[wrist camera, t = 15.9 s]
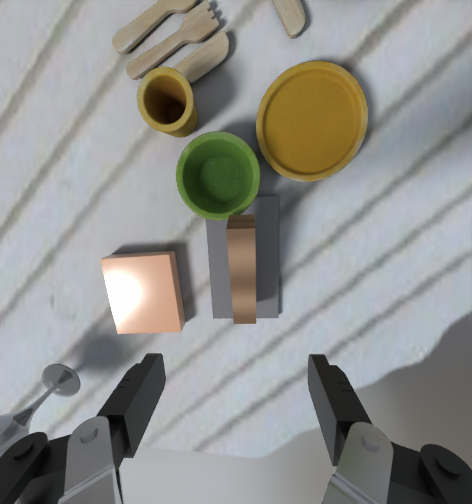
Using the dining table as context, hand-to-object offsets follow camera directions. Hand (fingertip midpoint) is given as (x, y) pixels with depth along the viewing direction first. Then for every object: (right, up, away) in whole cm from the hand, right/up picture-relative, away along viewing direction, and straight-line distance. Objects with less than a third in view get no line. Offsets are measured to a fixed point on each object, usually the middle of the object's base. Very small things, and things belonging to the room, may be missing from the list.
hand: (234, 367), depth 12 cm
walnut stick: (+1, +5, +17) cm, 18 cm away
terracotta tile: (-14, +6, +20) cm, 25 cm away
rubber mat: (+1, +5, +20) cm, 21 cm away
